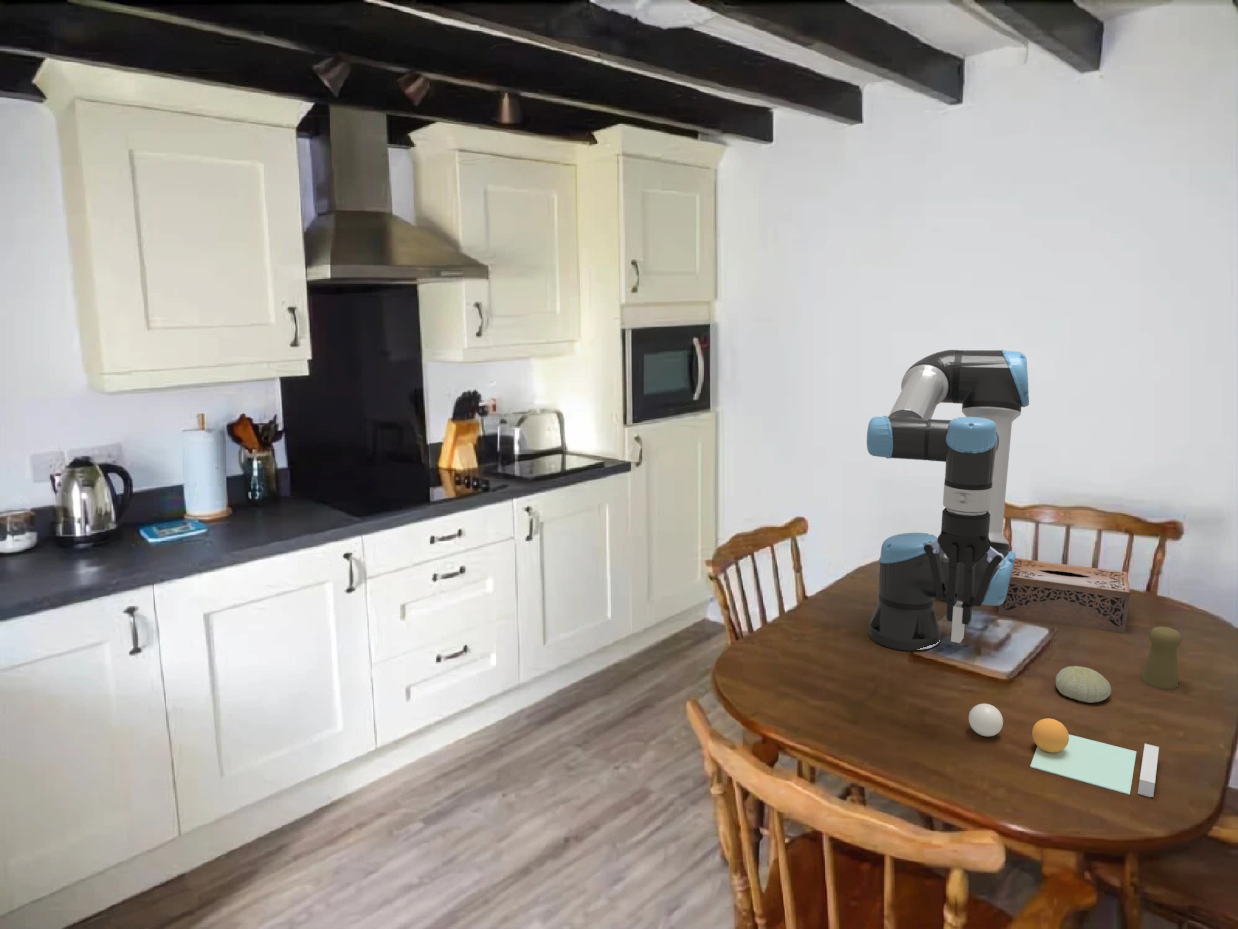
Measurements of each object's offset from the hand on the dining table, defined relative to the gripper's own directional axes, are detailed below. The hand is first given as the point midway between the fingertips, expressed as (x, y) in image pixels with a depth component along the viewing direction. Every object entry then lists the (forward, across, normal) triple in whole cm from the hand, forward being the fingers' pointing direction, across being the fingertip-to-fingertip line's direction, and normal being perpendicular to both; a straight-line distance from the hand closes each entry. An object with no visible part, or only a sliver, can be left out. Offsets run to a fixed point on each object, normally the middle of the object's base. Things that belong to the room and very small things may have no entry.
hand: (957, 639), depth 147 cm
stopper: (+16, +30, 0) cm, 34 cm away
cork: (+17, +30, +38) cm, 51 cm away
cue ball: (+14, +6, 0) cm, 15 cm away
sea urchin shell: (+17, +18, +25) cm, 35 cm away
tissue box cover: (+17, +9, +66) cm, 69 cm away
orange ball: (+14, +16, 0) cm, 21 cm away
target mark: (+16, +21, 0) cm, 27 cm away
